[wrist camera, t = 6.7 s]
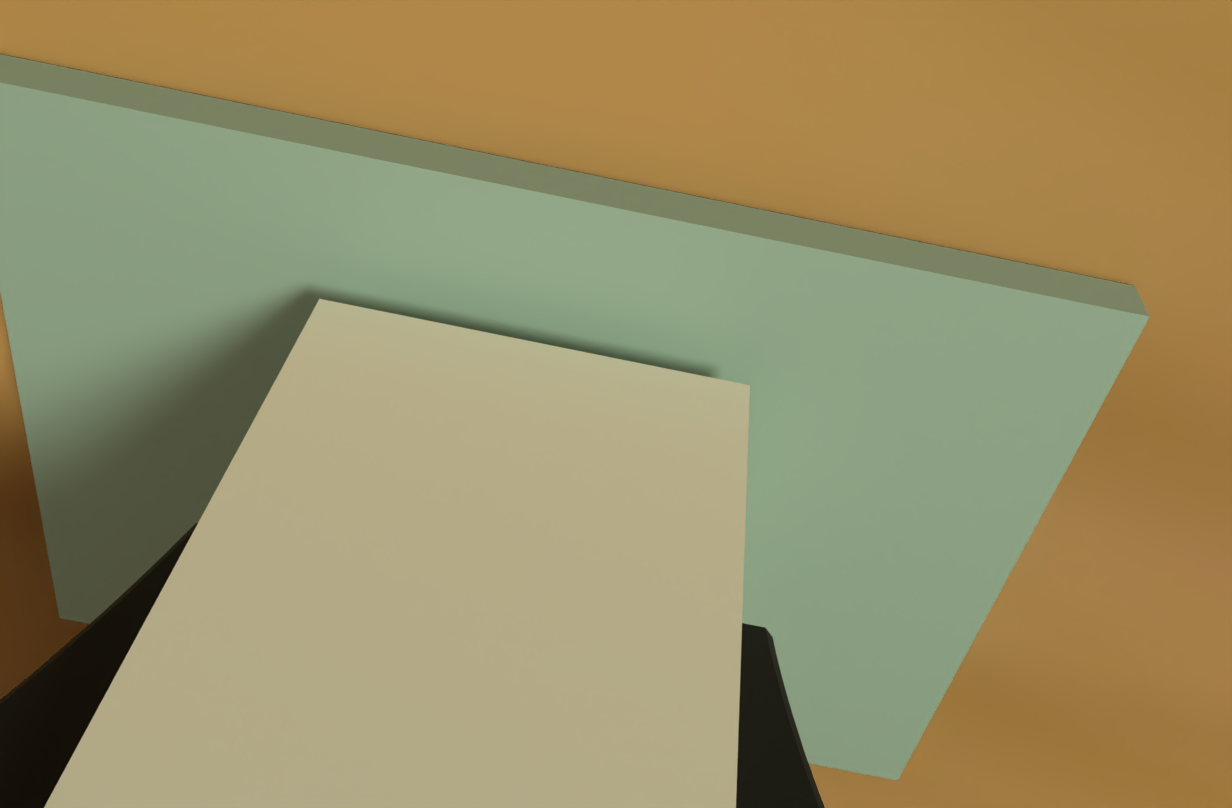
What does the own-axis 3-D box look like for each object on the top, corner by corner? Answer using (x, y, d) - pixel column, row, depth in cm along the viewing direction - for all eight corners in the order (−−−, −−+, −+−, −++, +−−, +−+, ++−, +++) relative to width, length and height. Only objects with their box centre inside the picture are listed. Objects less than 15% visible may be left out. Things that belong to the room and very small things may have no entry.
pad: (1134, 286, 12) (1149, 316, 12) (894, 745, 17) (897, 780, 17) (-8, 52, 12) (-39, 74, 11) (79, 587, 17) (59, 618, 16)
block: (749, 385, 12) (724, 1147, 7) (644, 720, 16) (574, 1373, 10) (319, 299, 12) (-62, 1000, 7) (318, 656, 16) (79, 1284, 10)
